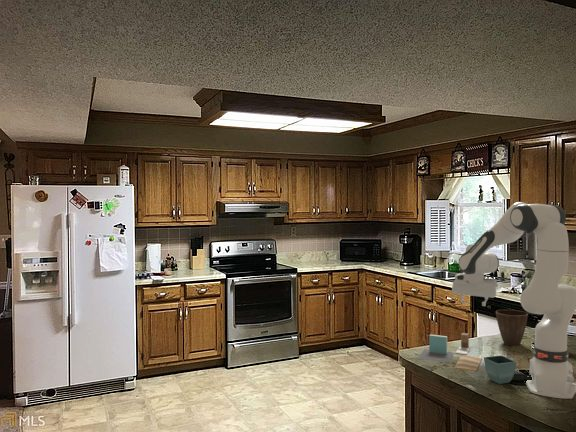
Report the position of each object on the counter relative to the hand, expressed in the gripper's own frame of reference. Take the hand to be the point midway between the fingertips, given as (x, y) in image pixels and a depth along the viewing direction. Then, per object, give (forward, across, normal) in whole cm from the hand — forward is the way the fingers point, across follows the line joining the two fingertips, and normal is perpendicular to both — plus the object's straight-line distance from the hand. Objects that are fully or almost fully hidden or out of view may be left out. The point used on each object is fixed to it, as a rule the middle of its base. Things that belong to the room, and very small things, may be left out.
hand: (473, 304), depth 242 cm
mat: (+22, +13, +20) cm, 33 cm away
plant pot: (+22, -16, -19) cm, 33 cm away
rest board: (+21, -2, +25) cm, 33 cm away
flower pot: (+21, -16, +43) cm, 51 cm away
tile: (+22, +13, +15) cm, 30 cm away
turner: (+22, +3, +6) cm, 23 cm away
